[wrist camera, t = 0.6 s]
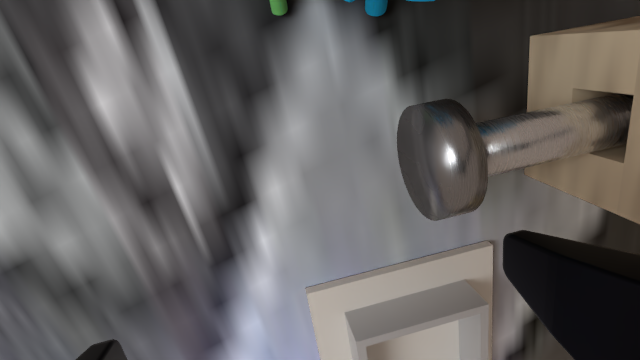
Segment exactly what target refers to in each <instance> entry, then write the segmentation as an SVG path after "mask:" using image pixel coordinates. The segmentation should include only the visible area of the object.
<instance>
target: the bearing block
mask: <svg viewBox="0 0 640 360" xmlns="http://www.w3.org/2000/svg"><path fill="white" fill-rule="evenodd" d="M615 93H621V94H630V95H634V97H633V104H632V111H631V118H630V125H629V132H628V139H627V144H624V145H620V146H615V147H611V148H607V149H603V150H598V151H594V152H590V153H586V154H581V155H577V156H573V157H569V158H565V159H560V160H556V161H552V162H548V163H543V164H539V165H535V166H531V167H526V168H525V169H524V175H527V176H529V177H531V178H534V179H536V180H538V181H540V182H543V183H545V184H547V185H550V186H552V187H554V188H557V189H559V190H561V191H564V192H566V193H568V194H571V195H573V196H575V197H578V198H580V199H582V200H584V201H587V202H589V203H591V204H594V205H596V206H598V207H601V208H603V209H605V210H608V211H610V212H612V213H615V214H617V215H619V216H622V217H624V218H626V219H628V220H631V221H633V222H635V223H638V224H640V16H637V17H631V18H626V19H620V20H615V21H610V22H604V23H599V24H593V25H588V26H582V27H577V28H571V29H566V30H560V31H555V32H550V33H544V34H539V35H533V36H530V50H529V74H528V98H527V112H531V111H536V110H540V109H545V108H550V107H554V106H559V105H564V104H569V103H573V102H578V101H583V100H587V99H592V98H597V97H601V96H606V95H611V94H615Z"/></svg>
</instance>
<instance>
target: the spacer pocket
mask: <svg viewBox="0 0 640 360" xmlns="http://www.w3.org/2000/svg"><path fill="white" fill-rule="evenodd" d="M305 289H306V294H307V299H308V304H309V308H310V313H311V318H312V323H313V328H314V332H315V337H316V342H317V347H318V352H319V356H320V360H492V290H493V245H492V244H491V243H490V242H488V241H484V242H480V243H476V244H472V245H468V246H464V247H461V248H457V249H453V250H449V251H445V252H441V253H438V254H434V255H430V256H426V257H422V258H418V259H415V260H411V261H407V262H403V263H399V264H395V265H392V266H388V267H384V268H380V269H376V270H372V271H369V272H365V273H361V274H357V275H353V276H349V277H346V278H342V279H338V280H334V281H330V282H326V283H323V284H319V285H315V286H311V287H307V288H305Z"/></svg>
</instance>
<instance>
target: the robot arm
mask: <svg viewBox="0 0 640 360" xmlns="http://www.w3.org/2000/svg"><path fill="white" fill-rule="evenodd" d="M503 269H504V272H505V274H506V276H507V278H508V279H509V280H510V282H511V283H512V284H513V286H514V287H515V288H516V289H517V291H518V292H519V293H520V295H521V296H522V297H523V299H524V300H525V301H526V302H527V304H528V305H529V306H530V308H531V309H532V310H533V311H534V313H535V314H536V315H537V317H538V318H539V319H540V321H541V322H542V323H543V324H544V326H545V327H546V328H547V329H548V331H549V332H550V333H551V334H552V335H553V336H554V338H555V339H556V340H557V341H558V342H559V343H560V344H561V345H562V346H563V348H564V349H565V350H566V351H567V352H568V353H569V354H570V355H571V356H572V357H573V358H574V359H575V360H640V255H638V254H634V253H629V252H624V251H620V250H615V249H610V248H606V247H601V246H596V245H592V244H587V243H582V242H577V241H573V240H568V239H563V238H559V237H554V236H549V235H545V234H540V233H535V232H531V231H526V230H520V231H516V232H513V233H509V234H507V235H506V236H505V237H504V239H503ZM76 360H127V358H126V356H125V353H124V351H123V349H122V347H121V345H120V343H119V342H118V341H117V340H114V339H112V340H108V341H104V342H101V343H97V344H94V345H92V346H90V347H89V348H88V349H87V350H86V351H85V352H84V353H83V354H81V355H80V356H79V357H78V358H77V359H76Z"/></svg>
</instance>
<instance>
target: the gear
mask: <svg viewBox="0 0 640 360" xmlns="http://www.w3.org/2000/svg"><path fill="white" fill-rule="evenodd" d="M344 1H347V2H353V1H355V0H344ZM408 1H435V0H408ZM387 2H388V0H365V11H366V13H367V14H369V15H371V16H381V15H383V14H384V13H385V12H386V9H387ZM270 4H271V9H272V12H273V14H275V15H283V14H285V13H286V12H287V10H288V7H287V1H286V0H270Z"/></svg>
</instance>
